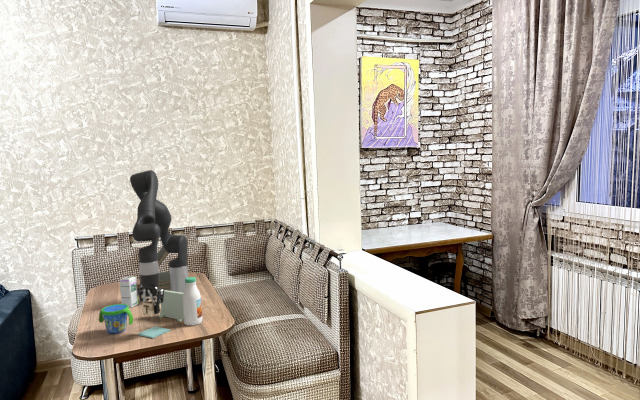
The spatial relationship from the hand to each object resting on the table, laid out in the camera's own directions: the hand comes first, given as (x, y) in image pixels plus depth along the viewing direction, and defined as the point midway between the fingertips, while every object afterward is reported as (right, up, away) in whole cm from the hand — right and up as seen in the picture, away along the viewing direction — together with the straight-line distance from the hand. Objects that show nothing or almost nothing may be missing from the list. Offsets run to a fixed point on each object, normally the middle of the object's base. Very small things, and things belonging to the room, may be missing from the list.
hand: (152, 312), depth 186 cm
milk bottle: (+14, -7, +11) cm, 19 cm away
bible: (-23, -4, +73) cm, 77 cm away
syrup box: (-26, -7, +40) cm, 48 cm away
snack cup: (-17, -9, +5) cm, 20 cm away
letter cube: (0, 0, 0) cm, 0 cm away
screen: (+3, -7, +19) cm, 20 cm away
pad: (0, -9, +1) cm, 9 cm away
